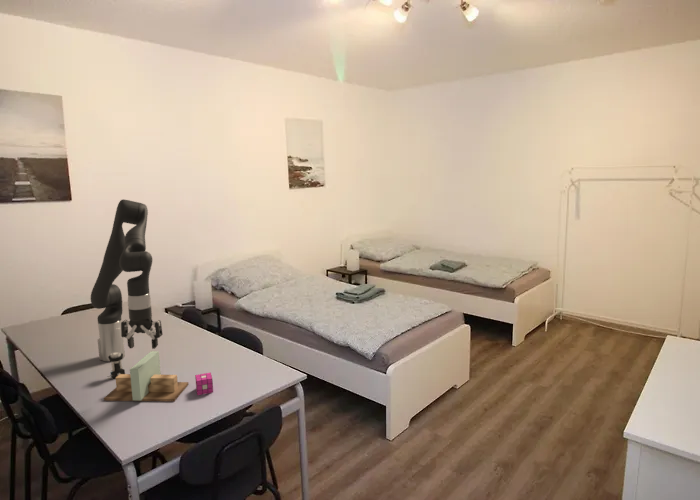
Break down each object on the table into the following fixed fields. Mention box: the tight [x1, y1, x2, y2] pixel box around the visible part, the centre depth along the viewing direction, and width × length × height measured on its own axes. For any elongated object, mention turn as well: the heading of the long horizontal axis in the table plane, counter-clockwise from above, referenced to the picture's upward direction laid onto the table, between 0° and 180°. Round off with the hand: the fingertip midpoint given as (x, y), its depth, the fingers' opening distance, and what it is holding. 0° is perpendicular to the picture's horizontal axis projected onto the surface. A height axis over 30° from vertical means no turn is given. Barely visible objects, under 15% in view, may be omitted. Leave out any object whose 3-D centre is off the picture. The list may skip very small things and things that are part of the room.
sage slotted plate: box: [129, 350, 162, 402], centre depth 164 cm, size 16×3×12 cm, turn 178°
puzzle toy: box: [195, 372, 214, 396], centre depth 166 cm, size 6×6×6 cm
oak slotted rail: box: [103, 373, 189, 402], centre depth 165 cm, size 26×13×6 cm, turn 88°
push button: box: [106, 352, 126, 380], centre depth 177 cm, size 7×5×10 cm
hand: (143, 347), depth 162 cm, fingers open, 8 cm apart
